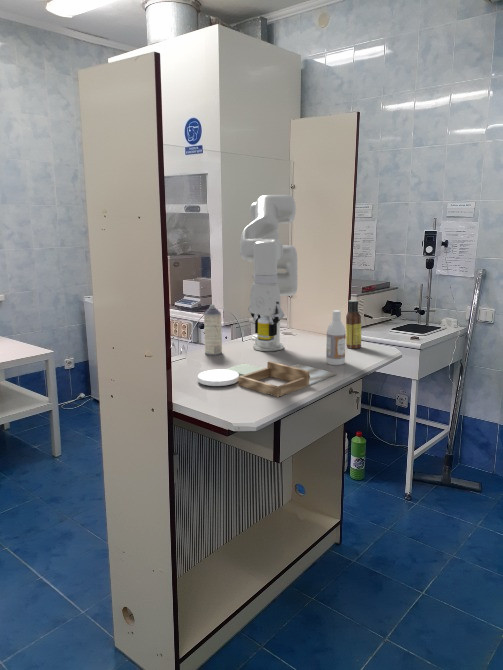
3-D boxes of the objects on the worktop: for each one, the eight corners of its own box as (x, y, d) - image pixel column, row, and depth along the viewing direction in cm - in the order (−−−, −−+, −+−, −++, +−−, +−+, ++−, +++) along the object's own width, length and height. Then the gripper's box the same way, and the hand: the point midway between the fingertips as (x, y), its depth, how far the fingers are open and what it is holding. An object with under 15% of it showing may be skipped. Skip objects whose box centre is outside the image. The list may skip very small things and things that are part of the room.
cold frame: (238, 385, 179) (238, 370, 178) (297, 365, 200) (297, 352, 199) (278, 397, 167) (278, 382, 166) (336, 374, 188) (336, 361, 187)
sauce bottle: (362, 346, 227) (363, 299, 222) (360, 349, 221) (361, 302, 216) (346, 345, 229) (347, 298, 224) (344, 348, 223) (345, 301, 218)
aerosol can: (225, 352, 220) (223, 303, 215) (216, 356, 214) (215, 306, 209) (210, 350, 223) (209, 302, 218) (202, 354, 217) (200, 305, 212)
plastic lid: (228, 373, 192) (228, 367, 192) (246, 384, 180) (246, 377, 180) (191, 379, 186) (191, 372, 186) (207, 391, 174) (207, 384, 173)
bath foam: (334, 366, 198) (336, 313, 193) (322, 362, 204) (323, 310, 199) (348, 363, 202) (350, 311, 197) (336, 359, 207) (337, 308, 203)
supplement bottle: (273, 343, 176) (273, 313, 173) (256, 342, 177) (256, 313, 174) (275, 339, 181) (274, 310, 178) (259, 338, 182) (258, 310, 179)
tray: (224, 373, 192) (224, 369, 192) (244, 367, 199) (244, 363, 199) (248, 380, 184) (248, 375, 184) (268, 373, 191) (268, 369, 191)
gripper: (238, 278, 177) (239, 332, 181) (278, 283, 165) (278, 340, 170) (253, 276, 182) (254, 328, 187) (293, 280, 171) (293, 336, 175)
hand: (265, 333), depth 178 cm, fingers closed on supplement bottle, 5 cm apart
